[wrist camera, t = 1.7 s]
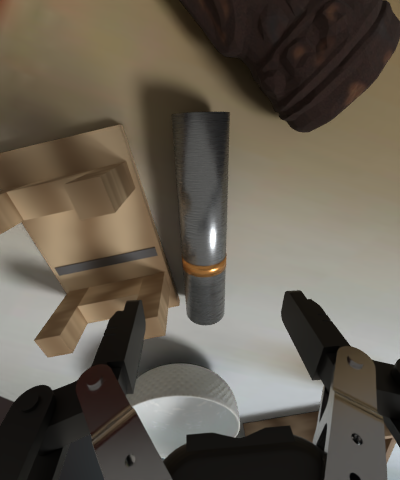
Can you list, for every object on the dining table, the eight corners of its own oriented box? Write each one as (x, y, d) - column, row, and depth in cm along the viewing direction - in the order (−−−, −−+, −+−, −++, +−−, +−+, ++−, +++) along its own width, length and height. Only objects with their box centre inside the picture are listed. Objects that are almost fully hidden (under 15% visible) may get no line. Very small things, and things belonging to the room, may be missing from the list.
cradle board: (122, 124, 19) (86, 123, 12) (179, 299, 28) (177, 354, 21) (-10, 156, 19) (-113, 171, 13) (88, 317, 29) (58, 376, 22)
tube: (174, 116, 19) (166, 113, 15) (227, 114, 19) (233, 110, 15) (187, 297, 28) (184, 325, 24) (223, 297, 28) (226, 325, 24)
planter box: (376, 401, 42) (399, 434, 37) (359, 458, 53) (375, 488, 49) (243, 423, 43) (249, 457, 38) (254, 474, 55) (260, 505, 50)
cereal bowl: (104, 363, 33) (85, 419, 27) (209, 328, 31) (215, 381, 24) (157, 416, 40) (151, 470, 34) (244, 392, 38) (255, 444, 32)
